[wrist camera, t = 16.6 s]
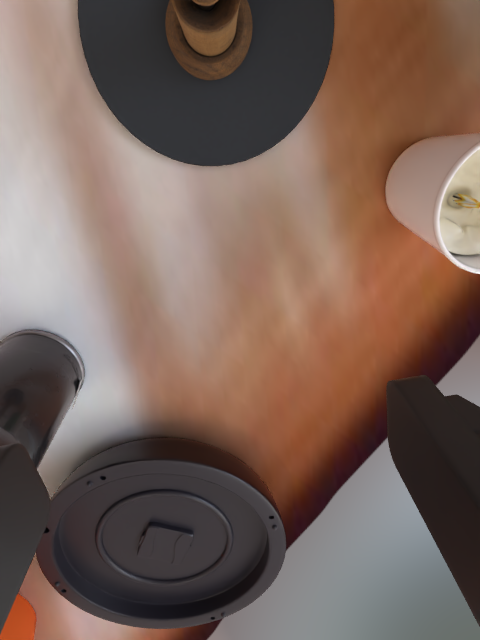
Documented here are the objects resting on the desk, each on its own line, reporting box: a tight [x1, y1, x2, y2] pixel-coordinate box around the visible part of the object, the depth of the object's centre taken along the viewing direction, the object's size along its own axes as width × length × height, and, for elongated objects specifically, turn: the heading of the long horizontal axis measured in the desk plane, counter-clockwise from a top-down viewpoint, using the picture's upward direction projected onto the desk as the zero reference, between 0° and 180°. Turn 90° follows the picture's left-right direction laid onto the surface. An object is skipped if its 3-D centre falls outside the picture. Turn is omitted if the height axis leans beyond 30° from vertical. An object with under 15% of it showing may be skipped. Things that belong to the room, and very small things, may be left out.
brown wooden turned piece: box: [165, 0, 252, 80], centre depth 25 cm, size 7×6×18 cm
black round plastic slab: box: [36, 438, 286, 629], centre depth 53 cm, size 30×6×30 cm
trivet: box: [78, 0, 334, 166], centre depth 33 cm, size 20×20×1 cm
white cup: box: [385, 133, 480, 274], centre depth 34 cm, size 10×10×12 cm
